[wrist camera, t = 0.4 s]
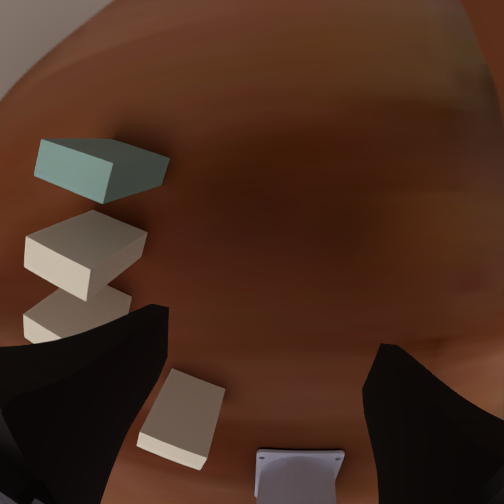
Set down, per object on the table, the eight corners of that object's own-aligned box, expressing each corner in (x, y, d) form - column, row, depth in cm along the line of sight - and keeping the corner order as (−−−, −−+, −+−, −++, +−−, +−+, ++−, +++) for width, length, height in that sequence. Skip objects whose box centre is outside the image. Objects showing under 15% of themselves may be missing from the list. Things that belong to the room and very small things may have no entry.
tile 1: (160, 186, 19) (102, 205, 13) (104, 166, 19) (33, 177, 13) (170, 158, 19) (113, 163, 12) (111, 138, 19) (41, 139, 12)
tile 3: (127, 317, 22) (79, 372, 16) (79, 293, 22) (24, 338, 16) (132, 296, 22) (81, 349, 15) (82, 272, 22) (23, 314, 15)
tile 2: (141, 257, 21) (85, 302, 14) (88, 234, 21) (23, 267, 14) (147, 232, 20) (90, 269, 14) (93, 209, 20) (26, 236, 13)
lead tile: (218, 403, 24) (199, 470, 17) (167, 383, 24) (136, 446, 17) (225, 388, 23) (207, 458, 17) (172, 368, 23) (139, 431, 17)
